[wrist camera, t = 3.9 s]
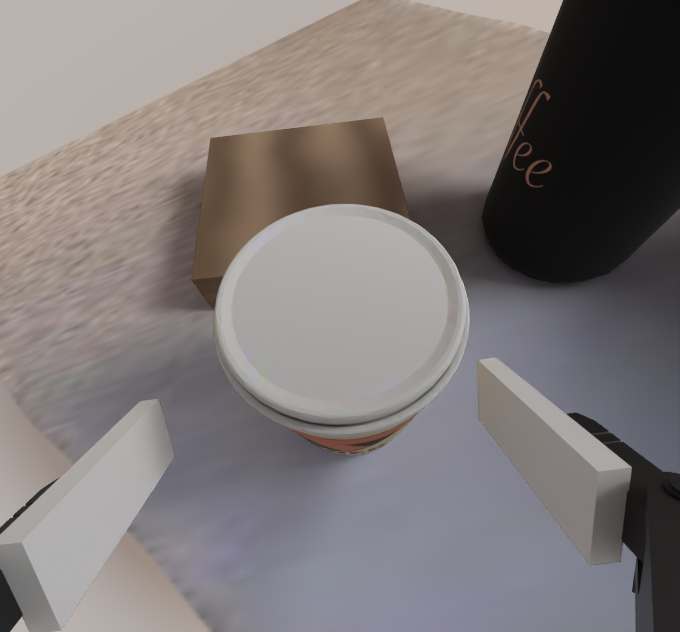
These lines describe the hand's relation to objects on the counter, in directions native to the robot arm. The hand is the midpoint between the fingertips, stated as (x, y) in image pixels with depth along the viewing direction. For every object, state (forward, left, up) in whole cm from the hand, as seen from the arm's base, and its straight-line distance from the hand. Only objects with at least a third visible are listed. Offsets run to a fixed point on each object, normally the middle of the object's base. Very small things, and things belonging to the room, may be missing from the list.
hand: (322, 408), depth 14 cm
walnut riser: (+1, -18, -8) cm, 20 cm away
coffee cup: (-1, -3, -8) cm, 9 cm away
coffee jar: (-18, -14, -8) cm, 24 cm away
